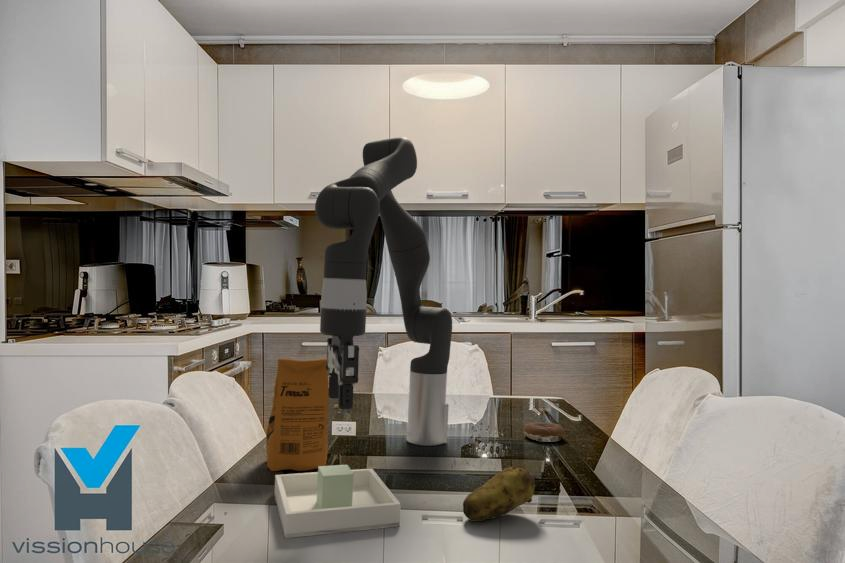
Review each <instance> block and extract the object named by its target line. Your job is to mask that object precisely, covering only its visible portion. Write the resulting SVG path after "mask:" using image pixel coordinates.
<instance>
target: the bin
mask: <svg viewBox="0 0 845 563" xmlns="http://www.w3.org/2000/svg"><path fill="white" fill-rule="evenodd" d="M351 471H352V472H353V474H354V478H353V498H352V506H349V507H338V508H327V509H319V507H318V504H317V502H316V501H317V481H318V471H314V472H312V471H311V472H302V473H301V472H298V473H287V474H286V473H285V474H284V473H283V474H275V475H274V494H273V495H274V500H275V502H276V503H275V504H276V507H277V511H278V515H279V520H280V523H281V527H282V530H283V531H282V532H283V536H284V538H285V539H292V538H300V537H302V538H303V537H309V536H310V537H311V536H318V535H319V536H320V535H329V534H330V535H331V534H339V533H349V532H358V531H359V532H360V531H367V530H368V531H369V530H376V529H377V530H378V529H388V528H389V529H390V528H394V527H395V528H396V527H397V528H398V527H400V525H401V524H400V523H401V508H402V507H401V502H400V501H399V499H397V497H396V496H395V495H394V494H393V493H392V492H391V490H390V488H389V487H387V484H386V483H384V481H383V480H382V479H381V478H380V476H379V475H378V474H377V472H376V471H375V470H374V469H373V468H361V469H360V468H359V469H351Z"/></svg>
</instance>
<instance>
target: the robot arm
mask: <svg viewBox="0 0 845 563" xmlns="http://www.w3.org/2000/svg"><path fill="white" fill-rule="evenodd" d="M362 162H363V166H362V167H360V168H358V169H357V170H356V171H355V172H354V173H352V175H350V176H349V177H347V178H344V179H341V180H338V181H336V182H333V183H331V184H328V185H326V186H325V187H323V189H321V191H320V192H319V194H318V196H316V200H315V204H314V212H315V216H316V218H317V220H318V221H319V223H320V224H321V225H322V226H324V227H325V228H328V229H334V230H338V229H339V230H353V232H352V233H351V235H350V236H349V238H348V239H346V240H343V241H340V242H339V241H338V242H335V243H331V244H328V245H327V246H326V248H325V250H324V251H325V252H324V264H323V265H324V267H323V280H322V281H323V283H322V288H321V299H320V300H321V302H320V323H319V331H320V334H322V335H324V336H328V337H327V340H326V342H327V343H326V344H327V346H326V359H327V361H326V370H328V371H327V373H328V389H329V390H328V398H330V399H337V405H338V409H340V410H351V409H352V408H353V406H354V405H353V403H354V386H356V384H358V382H359V363H360V362H359V358H360V357H359V356H360V355H359V353H360V347H359V344H354V337H360V336H364V335H365V334H366V324H367V323H366V322H367V299H368V298H367V296H368V295H367V293H368V290H367V261H368V260H367V259H368V255H369V254H368V253H369V248H370V244H371V242H372V241H371V240H372V237H373V234H374V231H375V227H376V225H377V223H378V219H379V217H380V220H381V224H382V229H383V232H384V237H385V242H386V246H387V251H388V254H389V260H390V261H391V265H392V268H393V271H394V275H395V280H396V284H397V288H398V294H399V298H400V303H401V305H400V306H401V311H402V318H403V324H404V329H405V332H406V334H407V338H408V339H409V340H410V341H412V342H413V343H418V344H423V345H424V344H425V345H429V350H428V352H426V353H425V354H424V355H422V356H418V357H414V358H412V359H411V361H410V366H409V367H410V368H409V369H410V370H409V383H408V385H409V386H408V390H409V391H408V405H407V406H408V408H407V409H408V410H407V428H406V430H407V431H406V441H407V442H408V443H410V444H413V445H418V446H423V447H424V446H426V447H427V446H430V447H431V446H438V445H442V444H447V443H448V429H449V428H448V425H449V404H448V403H447V382H448V380H447V379H448V366H449V360H450V358H451V346H452V345H451V344H452V334H453V317H452V314H451V312H450V311H449V309H447V308H446V307H434V306H425V305H424V304H423V302H422V299H421V291H420V290H421V286H422V282H423V280H424V278H425V275H426V273H427V271H428V268H429V265H430V260H431V257H430V256H431V255H430V250H429V245H428V242H427V236H426V233H425V230H424V229H423V227H422V226H421V225H420V224H419V223H418V222H417V220H416V219H415V218H414V217H413V216H412V215H411V214H410V213H409V212H407V211H406V209H404V207H403V206H402V205H401V204H400V203H399V202H398V200H397V198H396V197H395V195H394V193H393V191H392V190H393V189H394V188H396V187H397V186H399V185H400V184H402V183H404V182H406V181H407V180H409V179H411V178H412V177H414V175H415V173H416V172H417V168H418V157H417V151H416V148H415V145H414V144H413V142H412V140H410V139H409V138H408V137H403V136H402V137H401V136H397V137H396V136H395V137H391V138H386V139H380V140H374V141H370V142H366V143H365V145H364V146H363V148H362ZM347 374H349V375H347Z"/></svg>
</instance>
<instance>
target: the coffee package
mask: <svg viewBox="0 0 845 563" xmlns="http://www.w3.org/2000/svg"><path fill="white" fill-rule="evenodd" d="M326 361H327V358H321V359H313V360H296V359H290V358H281V357H278V361H277V370H276V371H277V372H276V377H275V384H274V389H273V391H274V395H273V398H272V406H271V407H272V408H271V413H270V415H269V418H268V424H267V430H266V443H265V444H266V446H265V447H266V450H265V452H266V460H267V461H266V466H267V468H268V469H269V471H271V472H278V471H279V472H280V471H284V470H293V471H297V472H303V471H304V472H305V471H312V470H313V471H314V470H318V466H327V460H328V446H329V444H328V415H329V414H328V413H329V396H328V390H329V376H328V373H327V371H328V370H326Z"/></svg>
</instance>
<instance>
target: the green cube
mask: <svg viewBox="0 0 845 563" xmlns="http://www.w3.org/2000/svg"><path fill="white" fill-rule="evenodd" d="M351 470H352V469H351V468H350V466H349V465H348V464H336V465H335V464H334V465H332V464H331V465H325V466H318V469H317V472H318V481H317V501H316V502H317V504H318V507H319V509H327V508H338V507H349V506H352V498H353V478H354V474H353V472H352V471H351Z"/></svg>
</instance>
